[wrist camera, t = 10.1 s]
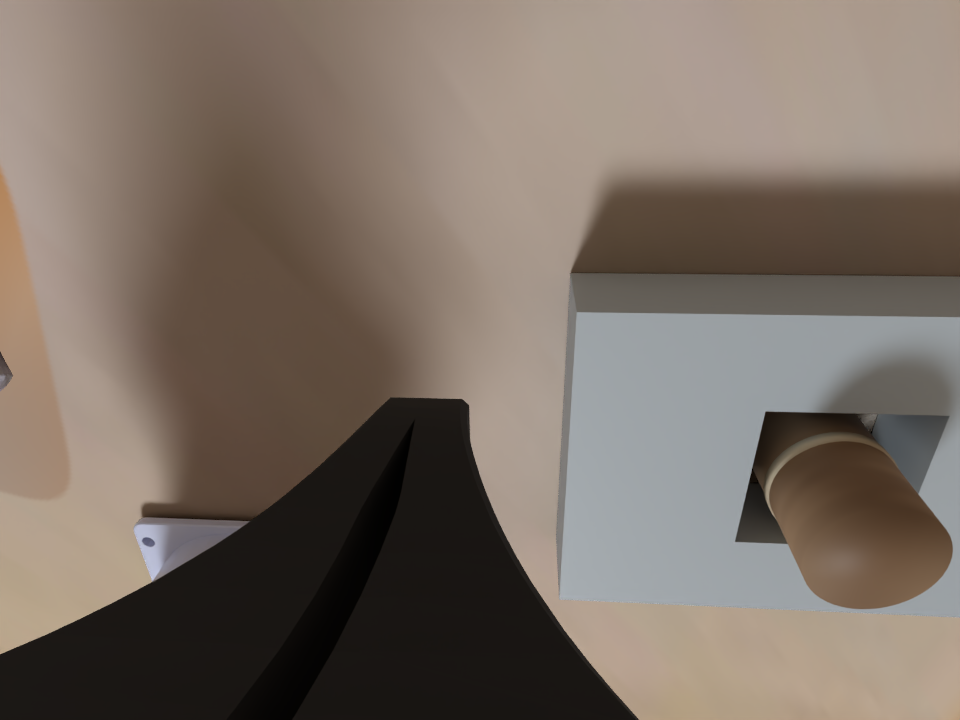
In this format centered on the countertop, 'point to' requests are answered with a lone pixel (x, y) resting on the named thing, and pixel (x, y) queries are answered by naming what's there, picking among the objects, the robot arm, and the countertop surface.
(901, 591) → the walnut peg
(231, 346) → the countertop surface
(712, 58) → the countertop surface
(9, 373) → the stone block
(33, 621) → the countertop surface
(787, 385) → the grey board
